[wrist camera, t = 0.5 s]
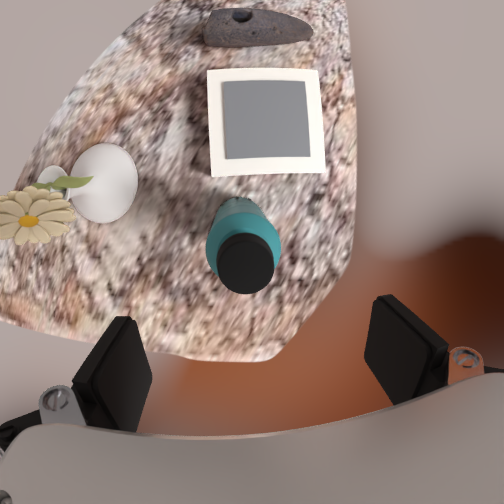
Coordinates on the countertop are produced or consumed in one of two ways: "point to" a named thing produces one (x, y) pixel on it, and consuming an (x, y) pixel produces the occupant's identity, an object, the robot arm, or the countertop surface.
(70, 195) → the flower in vase
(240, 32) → the perforated stone tool
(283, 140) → the white picture frame
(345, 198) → the countertop surface
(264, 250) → the beverage bottle
